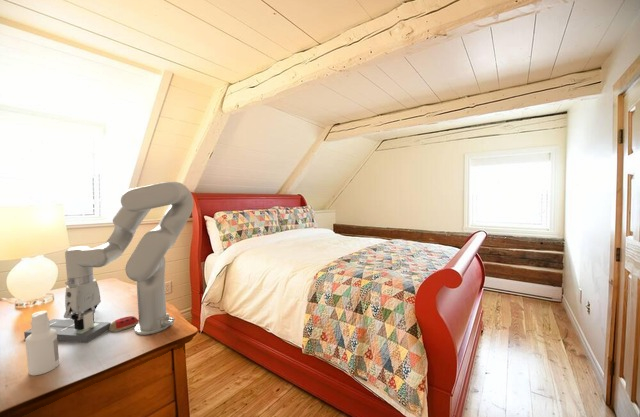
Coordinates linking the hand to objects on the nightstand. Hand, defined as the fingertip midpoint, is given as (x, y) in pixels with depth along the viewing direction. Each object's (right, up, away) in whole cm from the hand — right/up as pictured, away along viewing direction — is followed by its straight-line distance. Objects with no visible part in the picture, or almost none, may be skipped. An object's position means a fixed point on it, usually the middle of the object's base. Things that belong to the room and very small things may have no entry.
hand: (84, 325), depth 105 cm
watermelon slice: (+11, -3, +6) cm, 13 cm away
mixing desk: (-7, -3, +1) cm, 8 cm away
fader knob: (0, -1, 0) cm, 1 cm away
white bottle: (+4, -5, -19) cm, 20 cm away
